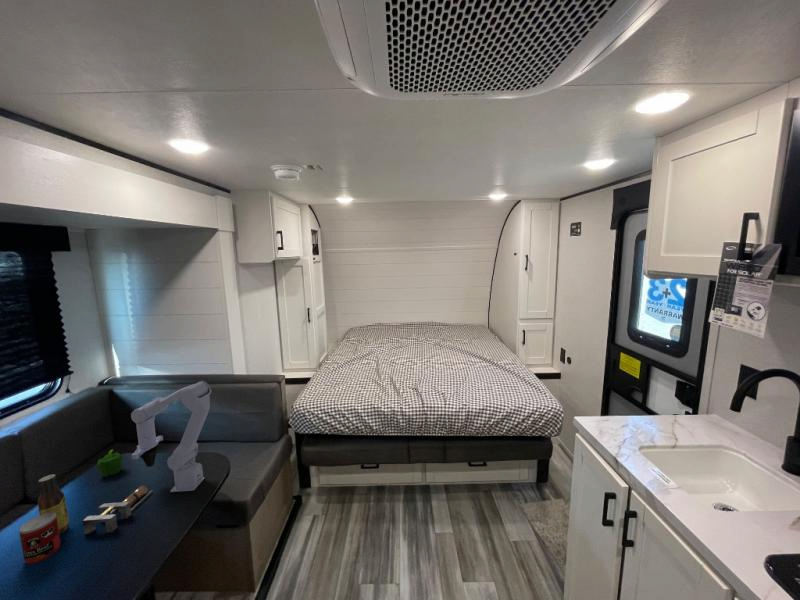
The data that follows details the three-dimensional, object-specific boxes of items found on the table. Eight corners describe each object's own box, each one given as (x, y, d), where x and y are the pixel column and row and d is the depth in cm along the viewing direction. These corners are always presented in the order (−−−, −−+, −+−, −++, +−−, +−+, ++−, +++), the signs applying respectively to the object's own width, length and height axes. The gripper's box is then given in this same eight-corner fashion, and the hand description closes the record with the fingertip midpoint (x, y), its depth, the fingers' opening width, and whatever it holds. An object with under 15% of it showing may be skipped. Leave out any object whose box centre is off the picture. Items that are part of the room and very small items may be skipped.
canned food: (18, 569, 96) (12, 535, 95) (33, 549, 103) (28, 517, 102) (53, 558, 100) (48, 525, 99) (65, 539, 107) (60, 508, 106)
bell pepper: (112, 479, 139) (109, 457, 138) (94, 479, 139) (91, 457, 138) (129, 467, 147) (126, 446, 146) (111, 467, 147) (109, 447, 146)
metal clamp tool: (155, 492, 129) (154, 480, 128) (112, 532, 109) (110, 518, 108) (131, 493, 128) (130, 482, 128) (84, 534, 108) (82, 520, 108)
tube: (138, 493, 128) (138, 485, 128) (147, 494, 128) (147, 486, 128) (117, 511, 118) (117, 503, 118) (126, 512, 118) (127, 504, 118)
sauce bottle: (73, 527, 112) (66, 473, 110) (49, 541, 106) (40, 485, 104) (62, 523, 114) (54, 470, 112) (38, 536, 108) (29, 481, 107)
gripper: (149, 426, 139) (153, 456, 140) (122, 444, 124) (126, 477, 125) (166, 425, 139) (169, 455, 140) (140, 443, 124) (144, 476, 126)
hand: (150, 465), depth 133 cm, fingers closed
